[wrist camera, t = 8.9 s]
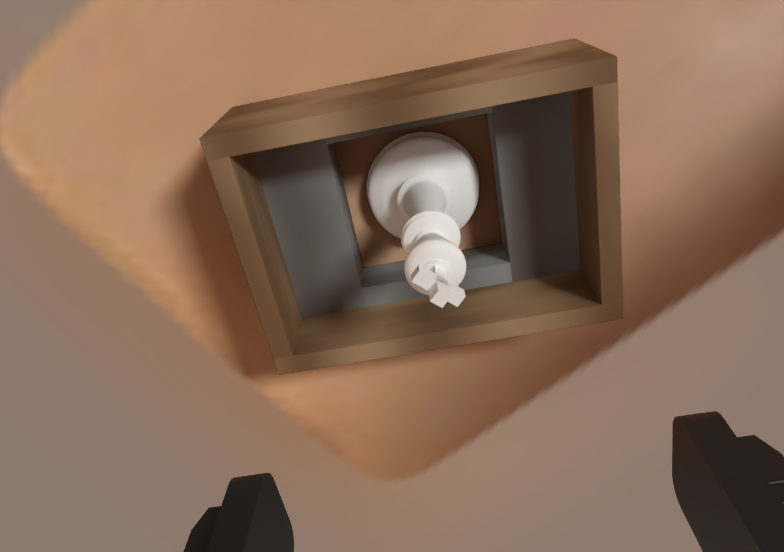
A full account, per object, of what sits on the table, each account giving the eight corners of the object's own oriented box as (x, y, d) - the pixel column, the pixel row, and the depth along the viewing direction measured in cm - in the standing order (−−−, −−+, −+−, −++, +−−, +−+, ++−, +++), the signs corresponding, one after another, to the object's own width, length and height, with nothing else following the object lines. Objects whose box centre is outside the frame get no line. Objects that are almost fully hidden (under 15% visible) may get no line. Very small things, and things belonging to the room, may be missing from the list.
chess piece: (438, 257, 29) (460, 391, 20) (346, 204, 27) (325, 322, 18) (501, 169, 27) (558, 275, 18) (405, 108, 25) (415, 188, 17)
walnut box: (574, 38, 24) (616, 56, 20) (586, 263, 29) (623, 318, 24) (232, 106, 25) (199, 138, 21) (295, 312, 30) (279, 374, 25)
